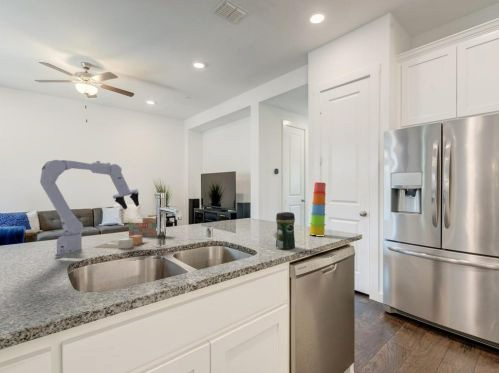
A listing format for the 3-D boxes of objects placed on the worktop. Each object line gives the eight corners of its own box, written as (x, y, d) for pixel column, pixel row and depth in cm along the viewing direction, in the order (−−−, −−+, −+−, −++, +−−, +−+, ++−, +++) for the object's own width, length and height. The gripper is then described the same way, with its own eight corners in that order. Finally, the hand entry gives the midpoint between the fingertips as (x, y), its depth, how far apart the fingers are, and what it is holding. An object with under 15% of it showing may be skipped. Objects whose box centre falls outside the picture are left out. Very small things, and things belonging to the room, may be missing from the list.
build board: (132, 251, 122) (132, 248, 122) (93, 249, 126) (93, 246, 126) (149, 244, 137) (149, 241, 137) (114, 242, 140) (114, 240, 140)
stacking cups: (315, 233, 172) (315, 182, 172) (328, 235, 164) (328, 182, 164) (305, 235, 166) (306, 182, 166) (319, 237, 158) (319, 182, 158)
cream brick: (126, 248, 124) (127, 240, 123) (118, 248, 124) (118, 240, 124) (132, 246, 128) (132, 238, 128) (124, 245, 129) (124, 238, 129)
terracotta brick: (137, 244, 132) (137, 236, 132) (129, 244, 133) (129, 236, 133) (142, 242, 136) (142, 235, 136) (134, 242, 137) (134, 234, 137)
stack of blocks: (128, 237, 156) (128, 217, 156) (133, 235, 162) (134, 216, 162) (161, 238, 154) (161, 218, 153) (166, 236, 160) (166, 216, 160)
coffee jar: (287, 245, 138) (287, 211, 138) (297, 248, 131) (297, 212, 131) (273, 247, 132) (273, 212, 132) (283, 250, 126) (283, 213, 126)
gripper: (136, 179, 140) (146, 201, 144) (113, 185, 142) (124, 206, 147) (129, 184, 133) (140, 206, 138) (106, 190, 136) (117, 212, 140)
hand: (131, 207), depth 142 cm, fingers open, 7 cm apart
